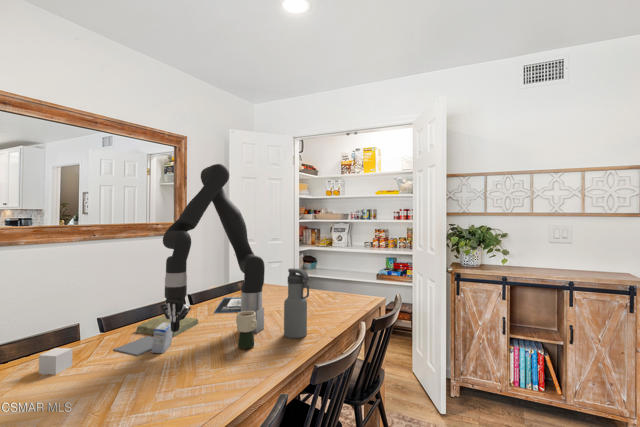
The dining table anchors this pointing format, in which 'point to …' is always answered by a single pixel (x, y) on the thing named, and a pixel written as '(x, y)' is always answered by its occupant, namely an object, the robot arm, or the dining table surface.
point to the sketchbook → (229, 305)
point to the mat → (137, 346)
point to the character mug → (246, 328)
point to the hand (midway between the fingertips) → (174, 331)
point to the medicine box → (162, 338)
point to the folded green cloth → (154, 323)
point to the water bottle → (296, 305)
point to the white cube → (55, 361)
